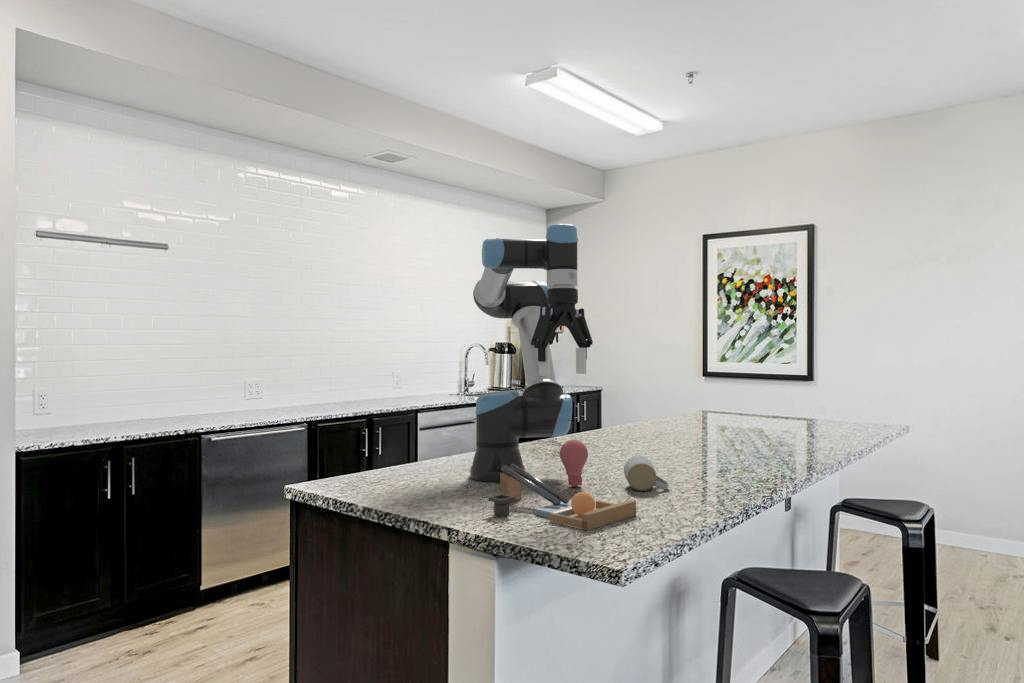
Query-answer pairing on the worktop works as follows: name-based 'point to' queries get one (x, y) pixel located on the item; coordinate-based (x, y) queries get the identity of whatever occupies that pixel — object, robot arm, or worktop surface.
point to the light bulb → (574, 460)
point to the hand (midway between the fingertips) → (563, 374)
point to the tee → (501, 504)
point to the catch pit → (597, 515)
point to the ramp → (527, 485)
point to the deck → (555, 510)
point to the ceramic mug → (642, 474)
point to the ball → (582, 503)
